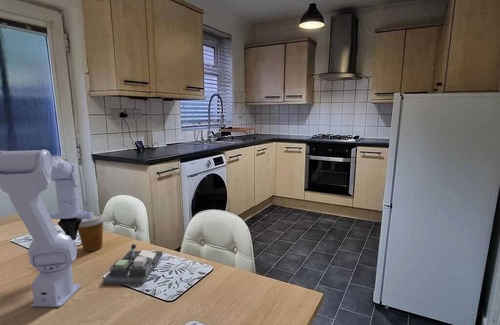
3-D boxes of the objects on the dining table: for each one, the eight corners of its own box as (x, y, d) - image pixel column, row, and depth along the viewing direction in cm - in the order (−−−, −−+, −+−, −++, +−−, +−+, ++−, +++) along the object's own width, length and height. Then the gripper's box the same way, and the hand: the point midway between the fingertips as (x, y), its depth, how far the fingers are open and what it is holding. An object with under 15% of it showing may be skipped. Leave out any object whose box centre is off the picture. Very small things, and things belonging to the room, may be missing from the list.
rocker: (152, 260, 96) (152, 258, 96) (138, 257, 96) (138, 254, 96) (155, 255, 99) (156, 253, 99) (142, 251, 99) (142, 249, 99)
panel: (143, 284, 86) (143, 274, 86) (103, 284, 86) (102, 274, 86) (162, 255, 104) (162, 246, 103) (129, 254, 104) (128, 246, 104)
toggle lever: (131, 260, 97) (135, 246, 96) (126, 258, 97) (131, 244, 96) (133, 257, 99) (137, 244, 98) (128, 256, 99) (133, 242, 98)
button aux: (143, 267, 90) (142, 261, 90) (133, 267, 90) (133, 261, 90) (146, 262, 93) (146, 256, 93) (137, 262, 93) (137, 256, 93)
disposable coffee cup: (92, 254, 103) (88, 222, 102) (72, 252, 106) (68, 220, 104) (112, 243, 112) (109, 214, 111) (93, 241, 115) (89, 212, 113)
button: (124, 270, 90) (124, 264, 90) (115, 270, 90) (114, 264, 90) (128, 265, 93) (128, 259, 93) (119, 265, 93) (119, 259, 93)
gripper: (97, 196, 95) (101, 234, 98) (54, 195, 95) (58, 234, 98) (85, 202, 88) (89, 244, 91) (38, 202, 88) (43, 243, 91)
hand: (72, 239), depth 94 cm, fingers closed
